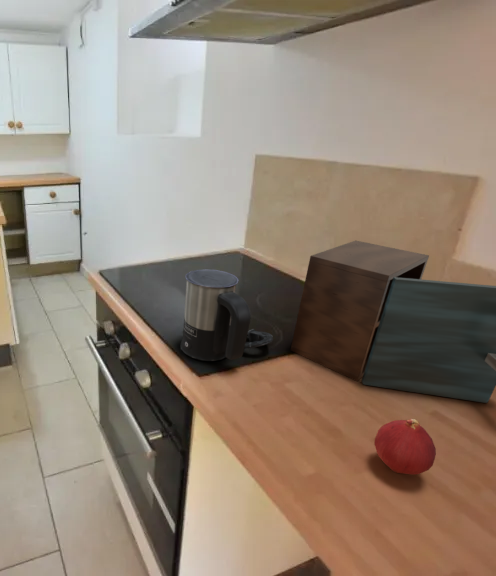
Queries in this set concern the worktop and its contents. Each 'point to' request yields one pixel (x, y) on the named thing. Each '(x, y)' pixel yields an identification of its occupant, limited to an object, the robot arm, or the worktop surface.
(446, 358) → the door
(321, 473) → the worktop surface
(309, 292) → the cupboard
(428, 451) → the onion
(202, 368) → the worktop surface
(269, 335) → the milk frother
